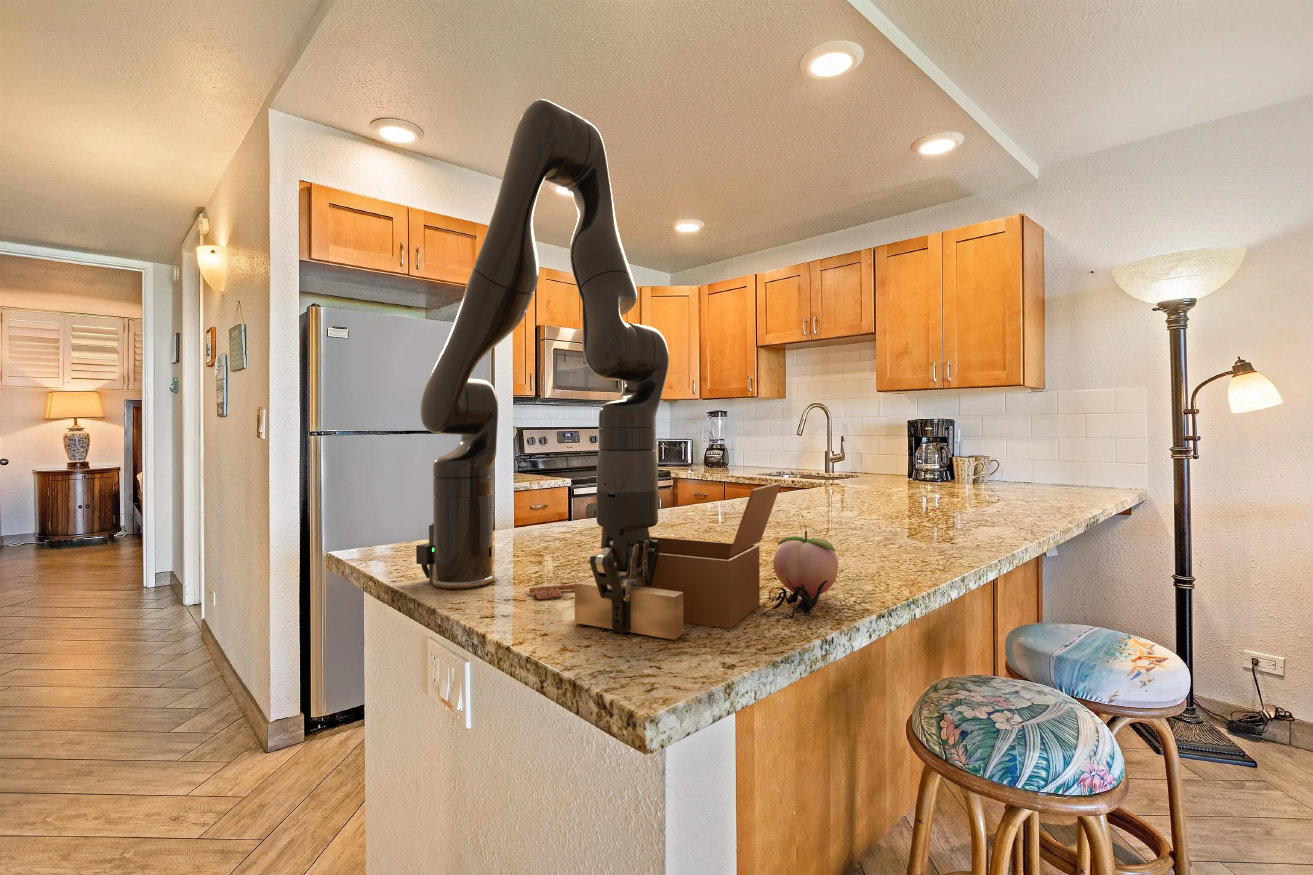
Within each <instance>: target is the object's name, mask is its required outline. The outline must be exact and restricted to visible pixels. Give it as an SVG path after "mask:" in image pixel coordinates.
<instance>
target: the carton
mask: <svg viewBox="0 0 1313 875" xmlns="http://www.w3.org/2000/svg"><path fill="white" fill-rule="evenodd" d="M605 533H606V531H605V529H604V528H603V527H601V539H600V540H601V541H600V549H604V548H603V542H604V539H605ZM650 539H651V540H657V541H660V550H659V554H658V559H657V564H656V568H655V573H654V578H653V582H652V585H651V586H647V588H655V589H662V590H670V591H678V592H683V623H688V624H694V625H695V624H696V625H702V626H709V627H714V628H715V627H716V628H721V629H728V630H730V629H732V628H733V627H734V626H735V625H737V624H738V623H740V622H741V621H742V620H743V619H745V617H747V616H748V615H749V614H751V613H752V612H753V611H754V610H755V609H757V608H758V607H759V606H760V604H761V603H760V601H761V600H760V599H761V597H760V594H761V591H760V588H761V587H760V585H761V584H760V582H761V581H760V577H761V576H760V573H761V572H760V545H759V544H754V545H752V546H750V547H748V548H746V549H744V550H742V551H740V552H738V553H736V554H734V555H732V556H730V555H729V554H730V551H731V548H732V545H733V542H723V541H711V540H699V539H687V538H686V539H685V538H674V537H665V536H664V537H662V536H651V535H650ZM617 573H618V574H621V573H620V572H619V571H617ZM620 584H623V583H622V582H621V581H620Z"/></svg>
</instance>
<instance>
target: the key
mask: <svg viewBox="0 0 1313 875" xmlns="http://www.w3.org/2000/svg"><path fill="white" fill-rule="evenodd" d="M528 590H529V594H535V596H536V598H537V600H544V599H556V598H563V593H562V592H561V591H567V590H568V591H569V590H575V583H571V584H570V583H569V584H568V583H567V584H560V585H549V586H539V587H538V586H537V587H530V588H529V589H528Z"/></svg>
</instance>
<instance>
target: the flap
mask: <svg viewBox="0 0 1313 875" xmlns="http://www.w3.org/2000/svg"><path fill="white" fill-rule="evenodd" d="M781 485H782V482H777V483H772V484H768V485H765V486H760V487H757V488H752V489H751V491H750V494H749V497H748V500H747V503H746V505H745V508H744V511H743V514H742V517H741V520H740V523H739V525H738V528H737V531H736V534H735V537H734V540H733V542H732V543H733V545H732V548H731V551H730V554H729V555H730V556H732V555H734V554H736V553H738V552H740V551H742V550H744V549H746V548H748V547H750V546H752V545H757V544H758V543H761V541H762V539H763V535H764V533H765V531H766V527H767V525H768V521H769V519H770V517H771V513H772V512H773V511H772V510H773V509H774V505H775V502H776V500H777V497H778V494H779V491H780V488H781Z"/></svg>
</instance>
